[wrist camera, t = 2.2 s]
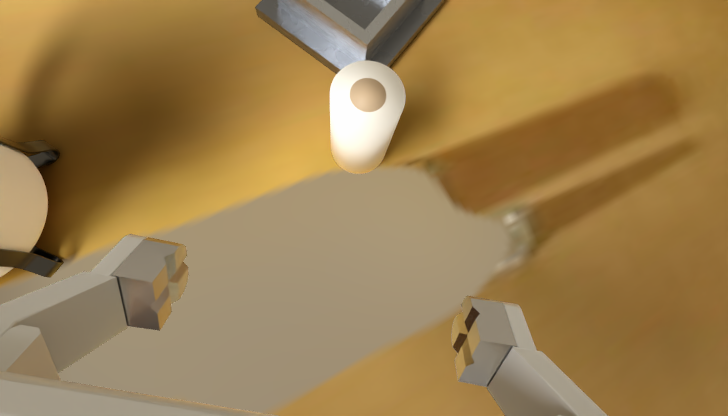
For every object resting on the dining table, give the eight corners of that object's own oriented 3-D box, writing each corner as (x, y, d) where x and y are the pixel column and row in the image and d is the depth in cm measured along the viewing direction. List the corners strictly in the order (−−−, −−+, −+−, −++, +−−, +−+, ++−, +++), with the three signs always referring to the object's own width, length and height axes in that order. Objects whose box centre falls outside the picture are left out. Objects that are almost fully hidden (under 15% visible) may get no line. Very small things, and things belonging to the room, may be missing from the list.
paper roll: (353, 111, 36) (360, 46, 26) (396, 143, 36) (420, 89, 26) (319, 151, 35) (314, 99, 25) (363, 184, 35) (375, 145, 25)
